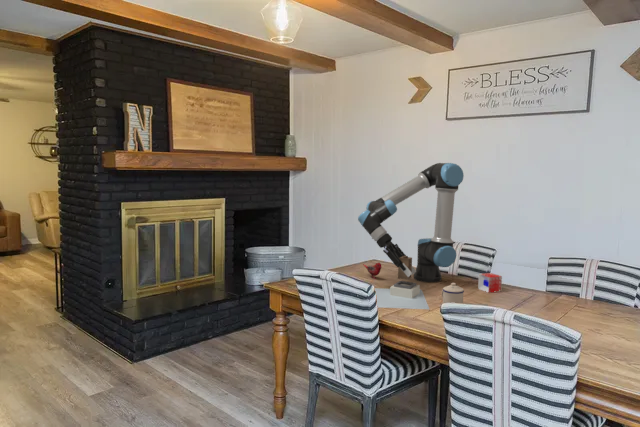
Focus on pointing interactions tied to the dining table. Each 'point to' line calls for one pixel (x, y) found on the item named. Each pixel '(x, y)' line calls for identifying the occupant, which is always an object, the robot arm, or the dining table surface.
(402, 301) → the mat
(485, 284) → the puzzle cube
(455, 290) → the teacup with lid
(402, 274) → the walnut pillar
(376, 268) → the decorative bird figurine
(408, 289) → the base brick
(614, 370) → the dining table surface
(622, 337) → the dining table surface
